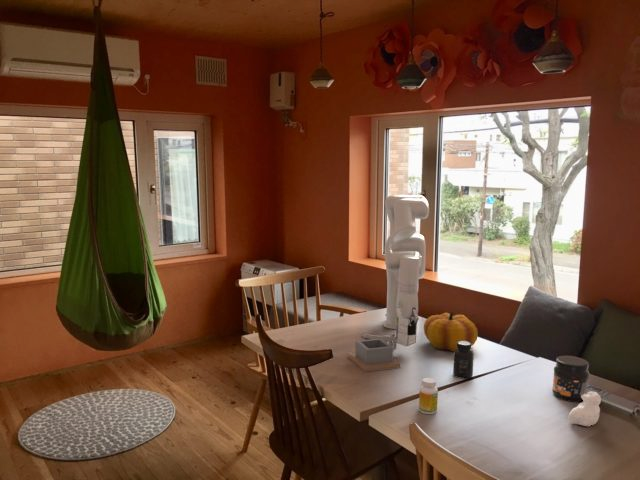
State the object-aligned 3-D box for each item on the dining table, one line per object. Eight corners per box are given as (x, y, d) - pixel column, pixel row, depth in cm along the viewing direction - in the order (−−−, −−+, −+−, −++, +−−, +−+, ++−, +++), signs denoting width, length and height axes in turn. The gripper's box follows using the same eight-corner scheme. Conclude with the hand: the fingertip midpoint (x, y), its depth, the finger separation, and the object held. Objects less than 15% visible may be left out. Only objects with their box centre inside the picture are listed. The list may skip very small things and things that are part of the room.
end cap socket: (348, 356, 213) (348, 339, 212) (381, 353, 217) (382, 335, 216) (365, 371, 198) (365, 353, 197) (400, 367, 202) (400, 349, 201)
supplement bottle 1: (433, 416, 164) (434, 385, 163) (416, 411, 167) (417, 381, 165) (439, 409, 169) (440, 379, 167) (422, 405, 171) (424, 375, 170)
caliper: (396, 349, 222) (397, 334, 221) (394, 350, 221) (395, 335, 220) (362, 336, 238) (362, 322, 237) (360, 336, 237) (360, 322, 236)
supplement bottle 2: (476, 375, 196) (478, 342, 194) (466, 380, 191) (468, 347, 189) (458, 370, 200) (460, 338, 199) (449, 375, 195) (450, 342, 194)
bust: (572, 436, 158) (597, 416, 151) (555, 412, 162) (579, 392, 155) (597, 426, 164) (622, 406, 157) (579, 403, 169) (604, 383, 161)
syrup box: (404, 339, 219) (405, 304, 217) (416, 343, 215) (418, 307, 213) (395, 342, 215) (396, 307, 213) (407, 347, 211) (409, 310, 209)
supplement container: (544, 391, 183) (547, 357, 181) (568, 387, 187) (571, 353, 185) (570, 405, 173) (573, 368, 171) (594, 399, 177) (598, 364, 175)
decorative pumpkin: (487, 349, 224) (489, 313, 221) (449, 359, 211) (451, 321, 209) (449, 335, 240) (451, 302, 238) (412, 344, 228) (413, 309, 226)
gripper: (389, 282, 218) (387, 325, 221) (410, 294, 202) (408, 340, 205) (406, 281, 221) (404, 323, 224) (428, 292, 204) (426, 338, 208)
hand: (406, 331), depth 214 cm, fingers closed on syrup box, 7 cm apart
